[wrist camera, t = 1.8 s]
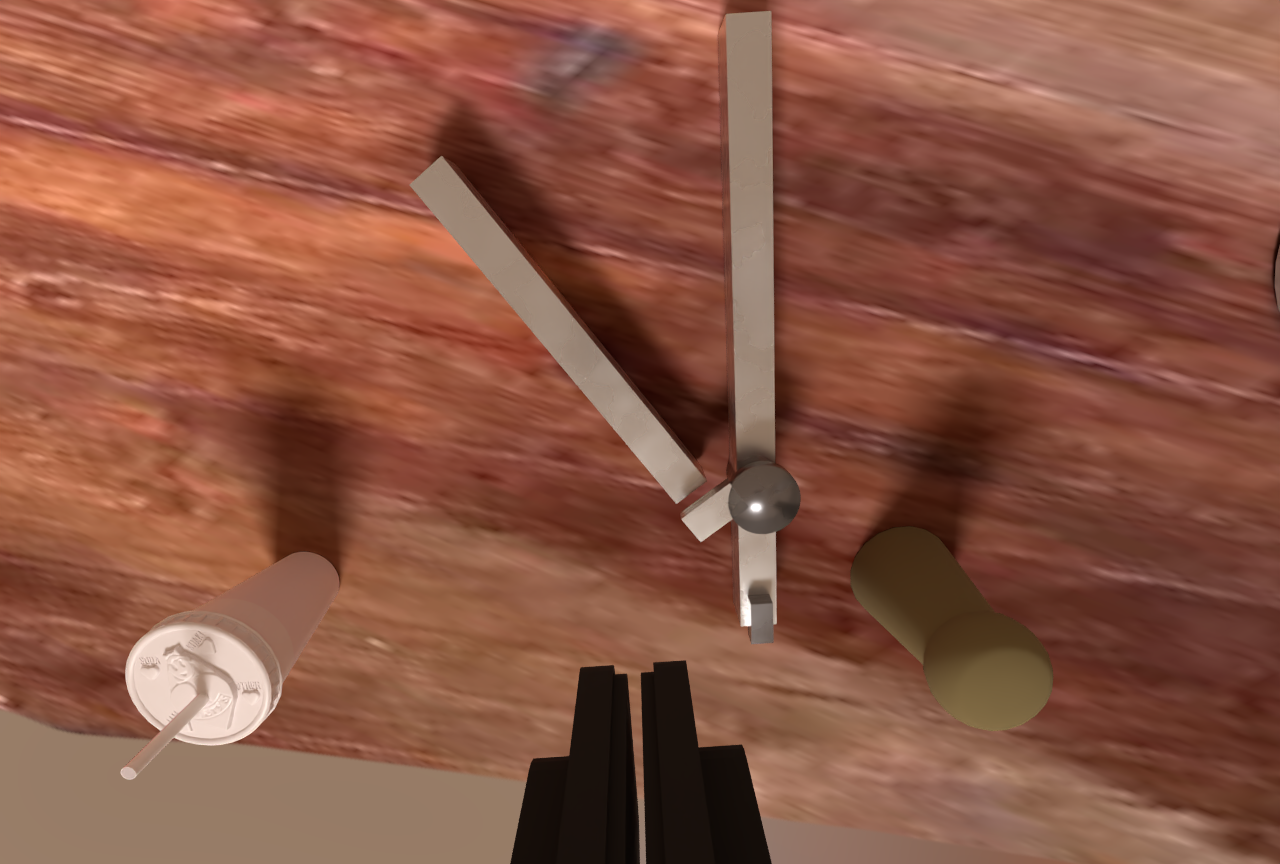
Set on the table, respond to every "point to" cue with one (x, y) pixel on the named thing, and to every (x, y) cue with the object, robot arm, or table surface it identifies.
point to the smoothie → (227, 656)
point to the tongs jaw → (602, 367)
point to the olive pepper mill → (952, 630)
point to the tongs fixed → (749, 291)
